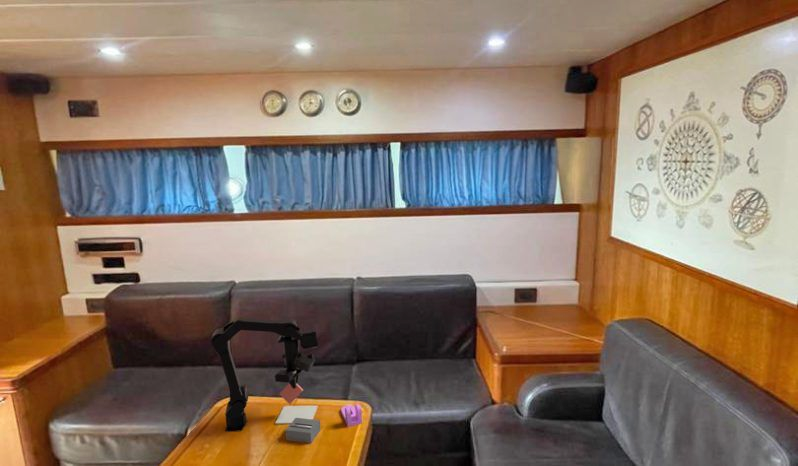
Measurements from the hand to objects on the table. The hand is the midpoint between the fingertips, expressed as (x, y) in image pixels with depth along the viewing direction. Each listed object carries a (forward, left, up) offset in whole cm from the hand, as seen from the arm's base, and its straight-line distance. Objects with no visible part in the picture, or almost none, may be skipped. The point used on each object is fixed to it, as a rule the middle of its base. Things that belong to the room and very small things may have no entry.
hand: (295, 387), depth 177 cm
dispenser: (+6, -13, -12) cm, 19 cm away
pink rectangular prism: (-5, +1, -5) cm, 7 cm away
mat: (0, 0, -12) cm, 12 cm away
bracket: (+22, -1, -13) cm, 25 cm away
